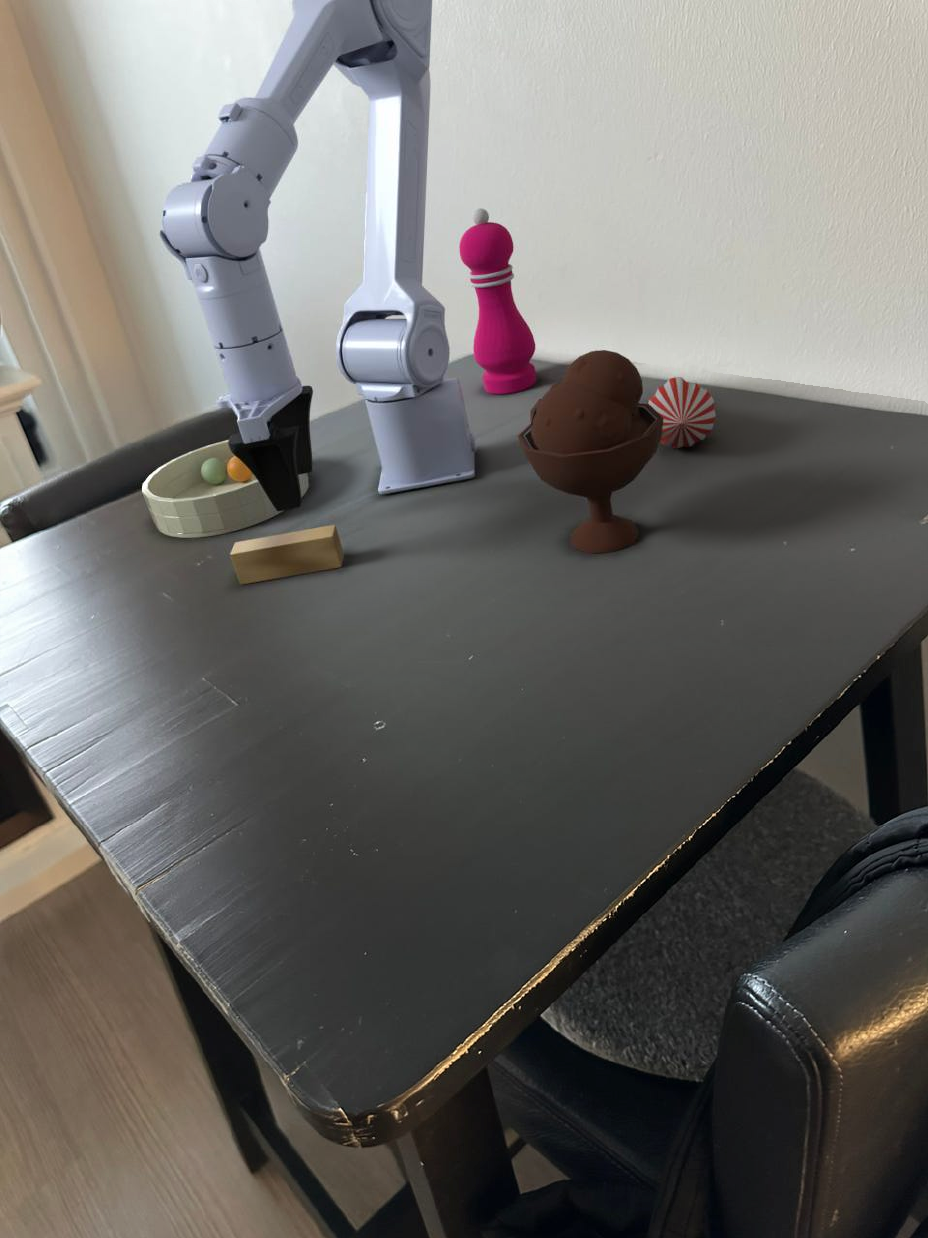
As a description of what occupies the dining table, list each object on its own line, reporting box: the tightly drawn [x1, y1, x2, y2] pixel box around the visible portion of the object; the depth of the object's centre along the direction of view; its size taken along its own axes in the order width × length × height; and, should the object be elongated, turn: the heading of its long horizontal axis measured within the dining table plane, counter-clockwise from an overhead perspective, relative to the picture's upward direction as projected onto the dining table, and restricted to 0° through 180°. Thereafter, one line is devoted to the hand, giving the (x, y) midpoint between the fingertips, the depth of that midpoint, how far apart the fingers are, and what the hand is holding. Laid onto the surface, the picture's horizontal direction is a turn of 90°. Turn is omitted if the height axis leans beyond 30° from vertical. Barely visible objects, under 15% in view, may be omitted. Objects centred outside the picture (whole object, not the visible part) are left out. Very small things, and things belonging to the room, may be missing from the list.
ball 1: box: [201, 458, 228, 484], centre depth 110 cm, size 3×3×3 cm
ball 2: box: [227, 456, 253, 482], centre depth 109 cm, size 3×3×3 cm
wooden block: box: [229, 524, 345, 585], centre depth 88 cm, size 9×2×3 cm, turn 90°
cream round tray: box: [141, 439, 310, 539], centre depth 105 cm, size 16×16×4 cm
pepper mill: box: [458, 208, 538, 395], centre depth 116 cm, size 7×7×20 cm
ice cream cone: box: [648, 376, 717, 449], centre depth 97 cm, size 6×6×20 cm
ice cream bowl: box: [517, 349, 663, 554], centre depth 79 cm, size 11×11×15 cm
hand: (295, 489), depth 90 cm, fingers open, 7 cm apart
